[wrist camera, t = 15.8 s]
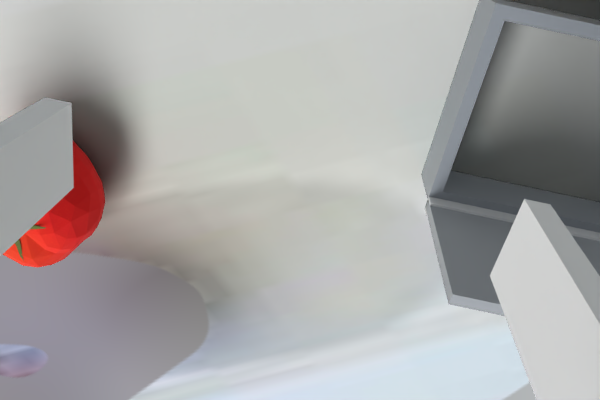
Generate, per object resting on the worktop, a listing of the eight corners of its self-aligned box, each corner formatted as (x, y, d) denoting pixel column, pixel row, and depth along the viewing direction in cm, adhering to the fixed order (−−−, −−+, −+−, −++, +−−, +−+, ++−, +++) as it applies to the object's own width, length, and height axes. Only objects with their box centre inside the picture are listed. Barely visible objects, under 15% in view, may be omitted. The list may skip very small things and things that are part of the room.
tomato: (113, 119, 49) (59, 163, 40) (126, 234, 55) (81, 294, 46) (-2, 108, 50) (-80, 149, 41) (23, 223, 56) (-41, 280, 47)
